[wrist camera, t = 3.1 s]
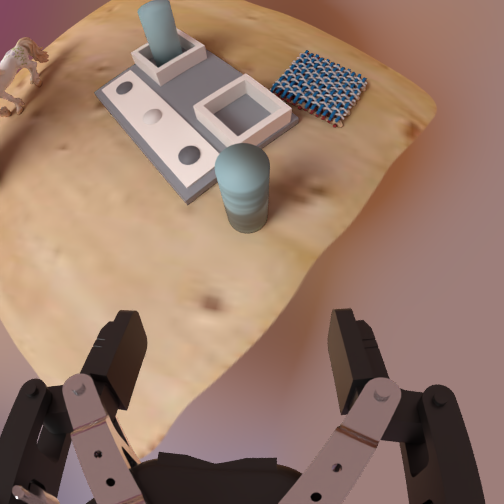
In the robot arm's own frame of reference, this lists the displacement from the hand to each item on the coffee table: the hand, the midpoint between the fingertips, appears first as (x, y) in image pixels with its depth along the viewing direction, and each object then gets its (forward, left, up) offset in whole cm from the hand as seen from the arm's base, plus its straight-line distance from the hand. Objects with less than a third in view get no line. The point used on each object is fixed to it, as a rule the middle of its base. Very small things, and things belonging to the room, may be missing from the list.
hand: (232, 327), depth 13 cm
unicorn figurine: (-6, +50, -17) cm, 53 cm away
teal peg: (+7, +9, -17) cm, 21 cm away
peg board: (+11, +26, -17) cm, 33 cm away
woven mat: (+26, +16, -18) cm, 36 cm away
